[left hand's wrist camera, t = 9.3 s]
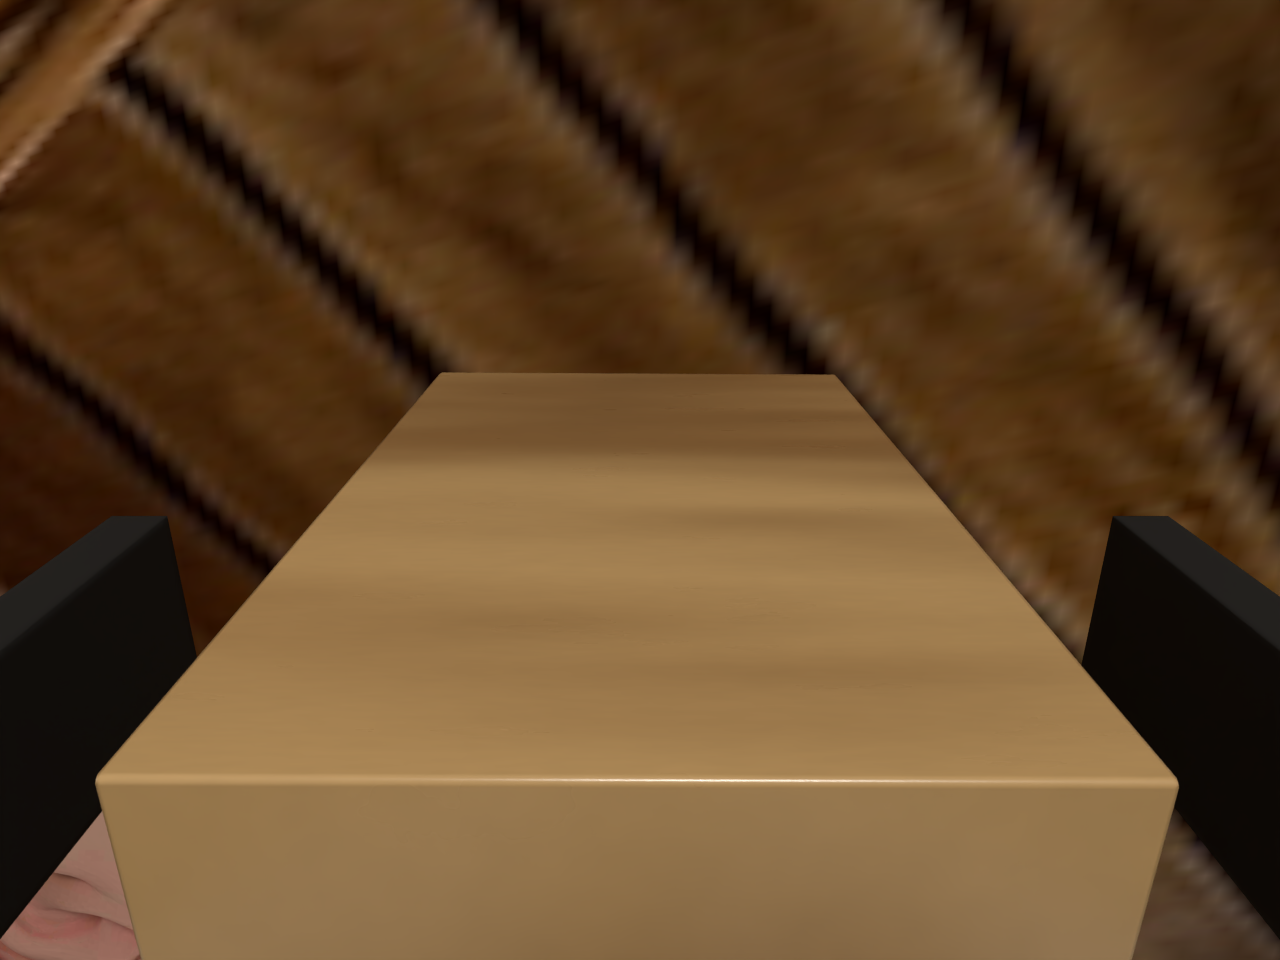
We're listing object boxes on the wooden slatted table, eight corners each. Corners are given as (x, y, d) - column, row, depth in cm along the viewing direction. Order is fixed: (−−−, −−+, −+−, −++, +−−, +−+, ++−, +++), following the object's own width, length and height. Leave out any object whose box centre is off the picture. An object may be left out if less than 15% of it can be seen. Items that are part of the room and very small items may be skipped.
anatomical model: (-152, 693, 26) (248, 791, 27) (-52, 621, 29) (295, 711, 31) (-153, 1005, 30) (189, 1075, 32) (-66, 909, 34) (236, 976, 35)
